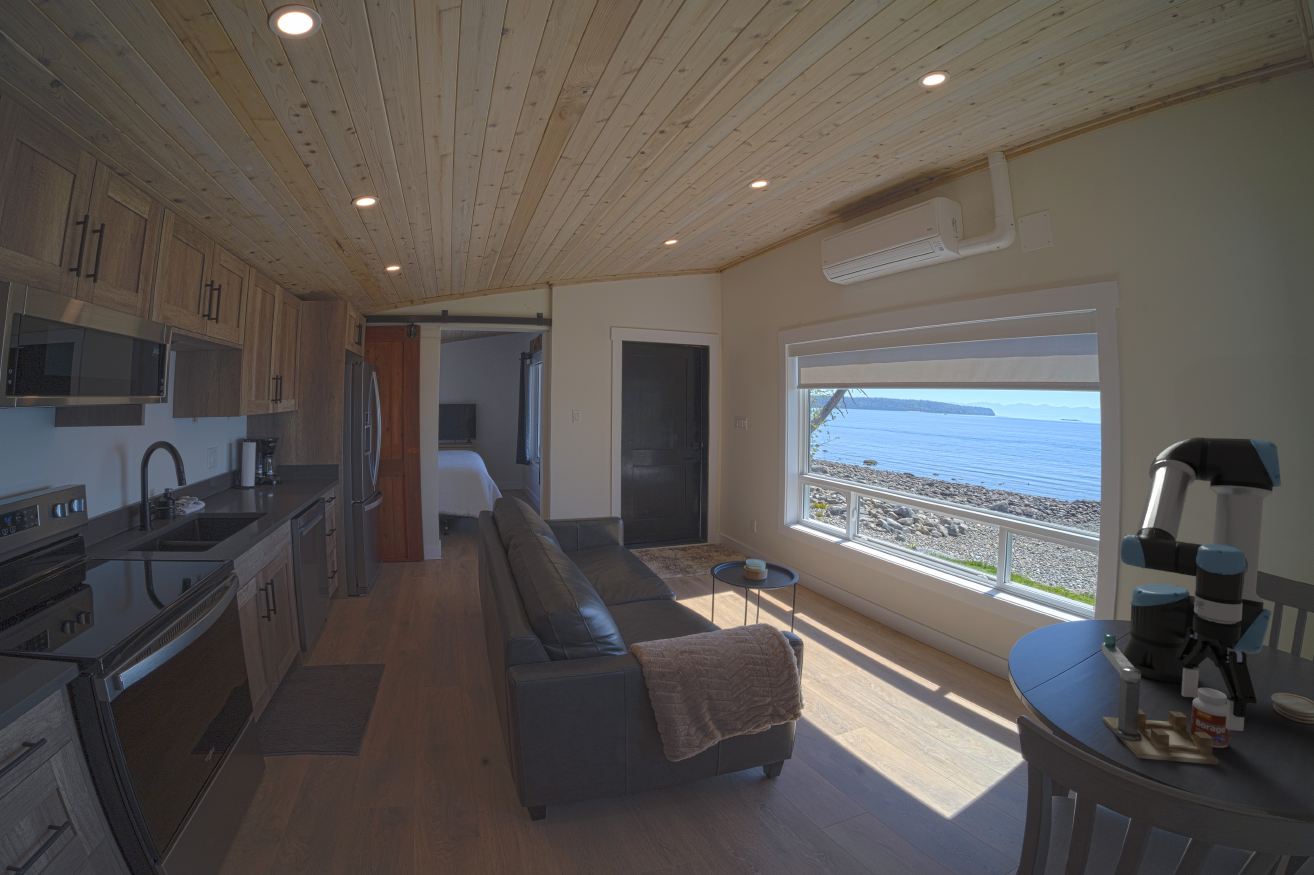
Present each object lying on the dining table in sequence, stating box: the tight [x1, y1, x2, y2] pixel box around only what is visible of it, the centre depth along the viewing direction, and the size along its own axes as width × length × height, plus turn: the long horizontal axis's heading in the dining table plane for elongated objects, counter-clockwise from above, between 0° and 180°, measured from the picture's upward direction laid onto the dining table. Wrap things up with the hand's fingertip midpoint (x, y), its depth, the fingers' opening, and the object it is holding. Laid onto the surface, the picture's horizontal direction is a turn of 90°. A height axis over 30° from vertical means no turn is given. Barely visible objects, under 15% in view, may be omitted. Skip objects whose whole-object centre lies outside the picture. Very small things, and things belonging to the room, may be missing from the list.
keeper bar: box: [1101, 633, 1142, 684], centre depth 136 cm, size 16×4×4 cm, turn 159°
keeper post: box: [1113, 677, 1141, 741], centre depth 132 cm, size 5×5×12 cm
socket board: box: [1102, 708, 1219, 765], centre depth 131 cm, size 15×14×4 cm
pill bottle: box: [1189, 687, 1230, 749], centre depth 130 cm, size 6×6×11 cm
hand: (1210, 712), depth 130 cm, fingers open, 13 cm apart
